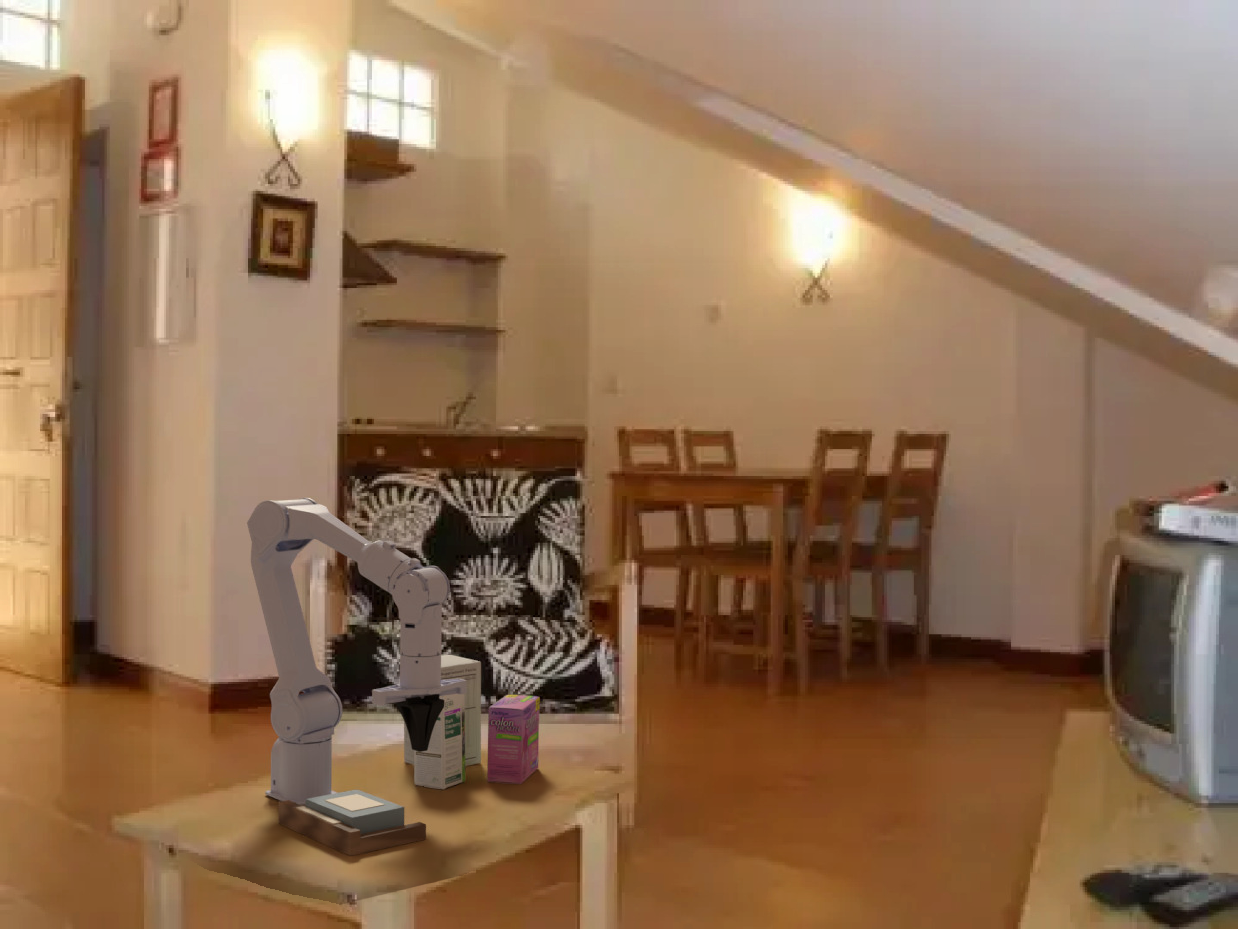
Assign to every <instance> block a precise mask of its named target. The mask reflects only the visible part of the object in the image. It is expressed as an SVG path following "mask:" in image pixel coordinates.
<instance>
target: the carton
mask: <svg viewBox="0 0 1238 929" xmlns="http://www.w3.org/2000/svg"><path fill="white" fill-rule="evenodd" d="M306 807H308V808H310V809H312V810H315V811H317V812H319V813H322V814H324V815H327V816H329V817H331V818H334V819H336V820H338V821H341V822H342V823H344V824H347V825H349V826H351V827H354V828H356V829H358V830H361V833H360V834H364V833H369V832H374V831H379V830H383V829H388V828H393V827H398V826H403V825H405V806H403V805H400V804H397V803H395V802H393V801H389V800H387V799H383V798H381V797H379V796H376V795H374V794H370V793H368V792H365V791H362V790H360V789H357V788H356V789H352V790H347V791H342V792H341V791H340V792H337V793H335V794H329V795H324V796H319V797H313V798H308V799H306Z"/></svg>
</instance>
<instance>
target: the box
mask: <svg viewBox="0 0 1238 929" xmlns="http://www.w3.org/2000/svg"><path fill="white" fill-rule="evenodd" d="M540 699H541V698H540V696H537V695H525V694H523V695H522V694H521V695H520V694H506V695H504V696H503V697H501V698H500V699H499V700H497V701H496V702H494V703H493V704H492V705H490V706H489V707H488V714H487V715H488V716H487V717H488V719H487V722H488V724H487V770H486V772H487V773H486V774H487V775H486V780H487V783H495V784H496V783H497V784H509V785H510V784H511V785H522V784H523V783H524V782H525V781H526V780H527V779H528V778H529V777H530V776H531V775H533V773H534V772H536V771H537V770H538V769H539V737H540V736H539V735H540V734H539V732H540V731H539V730H540V729H539V728H540V727H539V725H540V702H541V701H540Z"/></svg>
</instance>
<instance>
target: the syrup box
mask: <svg viewBox="0 0 1238 929" xmlns="http://www.w3.org/2000/svg"><path fill="white" fill-rule="evenodd" d="M439 699H443V700H444V708H443V710H442V711H441V713H440V715H439V716H438V719H437V721H436V723H435V725H434V728H433V731H432V734H431V738H430V742H429V746H428V750H427V751H422V752H418V751H415V750H414V765H413V767H414V769H413V770H414V773H413V774H414V778H413V779H414V782H413V783H414V785H415V786H419V787H423V786H424V788H431V789H438V790H446V789H447V788H450V787H452V786H455V785H456V786H457V785H458V784H462V783H464V782H466V766H465V694H451V695H444V696H439Z"/></svg>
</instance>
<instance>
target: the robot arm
mask: <svg viewBox="0 0 1238 929" xmlns="http://www.w3.org/2000/svg"><path fill="white" fill-rule="evenodd" d="M246 522H247V523H246V524H247V529H248V534H249V536H250V541H251V549H250V565H251V570H252V574H253V579H254V581H255V586H256V589H257V593H258V594H257V595H258V597H259V602H260V606H261V610H262V614H263V617H264V621H265V626H266V629H267V630H266V631H267V634H268V638H269V641H270V647H271V650H272V654H273V657H274V663H275V666H276V671H277V674H278V679H277V681H276V683H275V685H274V686H273V688H272V690H271V691H270V693H269V698H270V702H271V711H270V723H271V727H272V728H273V730H274V732H275V734H276V735H277V736H278V738H276V740H275V741H274V743H273V744H272V748H271V750H270V789H269V790H266V791H264V794H265V795H266V796H269V797H271V798H273V799H276V800H277V801H279V802H281V801H287V800H290V801H292V802H294V803H297V804H299V805H304V804H306V799H308V798H313V797H319V796H324V795H329V794H335V793H338V792H337V791H334V790H333V789H332V781H333V780H332V779H333V778H332V776H333V775H332V771H333V770H332V764H333V763H332V762H333V761H332V760H333V758H332V750H333V746H332V745H333V743H332V742H333V741H332V740H333V739H332V736H333V735H335V728H336V727H337V726H338V725H339V723H340V722H341V720H342V717H343V704H342V701H341V699H340V696H339V695H338V694H337V693H336V691H335V690H334V688H333V686H332V681H331V678H330V677H329V676H328V675H326V674H325V673H324V672H322V671H321V670H320V669H319V668H317V665H316V661H315V658H314V652H313V649H312V646H311V641H310V638H309V637H310V636H309V633H308V630H307V625H306V622H305V616H304V615H303V608H302V606H301V602H300V598H299V594H298V590H297V586H296V583H295V578H294V574H293V569H292V566H293V563H294V561H295V560H296V559H297V557H298V555H299V554H300V553H301V551H303V550H304V549H305V548H306V547H307V546H308V545H309V544H311V542H313V541H314V540H317V541H318V542H321V543H322V544H324V545H326V546H328V547H329V548H332V549H333V550H335V551H336V552H338V553H340V554H342V555H343V556H346V557H347V558H349V559H350V560H352V561H355V562H356V563H357V569H358V573H359V574H360V575H361V576H362V577H364V578H365V579H367V580H369V581H370V582H372V583H373V584H375V585H376V586H378V587H380V589H382V590H384V591H385V592H387V593H388V594H390V595H391V596H392V599H393V600H392V601H393V602H394V603H395V605H396V606H397V609H398V619H399V620H400V632H399V633H400V638H399V640H400V645H399V646H400V647H399V649H400V651H399V654H400V655H399V656H400V657H399V683H397V684H394V685H388V686H385V687H381V688H376V689H375V688H374V689H372V690H371V693H372V695H371V696H372V697H371V703H372V704H374V705H375V706H379V707H380V706H385V705H387V704H393V703H395V704H396V706H395V707H396V708H397V709H398V711H399V713H400V715H401V716H402V719H403V723H404V722H405V724H406V727H407V730H408V733H409V737H410V742H411V746H412V750H415V751H418V752H422V751H427V750H428V746H429V742H430V738H431V734H432V731H433V728H434V725H435V723H436V721H437V719H438V716H439V715H440V713H441V711H442V710H443V708H444V700H443V699H439V696H444V695H451V694H466V693H467V681H466V680H463V679H448V680H441V656H442V621H443V620H442V619H443V618H442V614H443V612H442V609H443V604H445V602H446V601H447V599H448V598H449V597H450V592H451V590H450V589H451V586H450V584H451V583H450V580H449V578H448V577H447V575H446V573H445V572H443V571H442V570H441V568H440V567H439V566H436V565H428V566H423V564H421V560H419V559H418V558H415V557H412V558H411V557H409V556H408V555H406V554H405V553H403V552H401V551H400V550H399V549H397V548H396V544H397V543H395V542H394V541H392V540H382V539H381V540H375V541H373V542H370V541H369V540H368V539H366V538H365V537H363V536H362V535H361V534H359V533H358V532H357V531H356V530H354V529H353V528H351V527H350V526H349V525H347V524H346V523H345V522H343V521H341V519H339V518H337V517H336V516H335V515H333V514H332V513H331V512H330V511H329V509H328V507H327V506H326V505H323V504H320V503H318V502H317V501H316V500H314V499H312V498H310V497H302V498H299V499H287V500H284V499H282V500H270V499H269V500H268V499H267V500H263V501H260V503H258V504H257V505H256V507H255V508H254V510H253V512H252V513H251V515H250V517H249V519H248V520H247V521H246ZM300 692H303V693H300Z"/></svg>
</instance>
